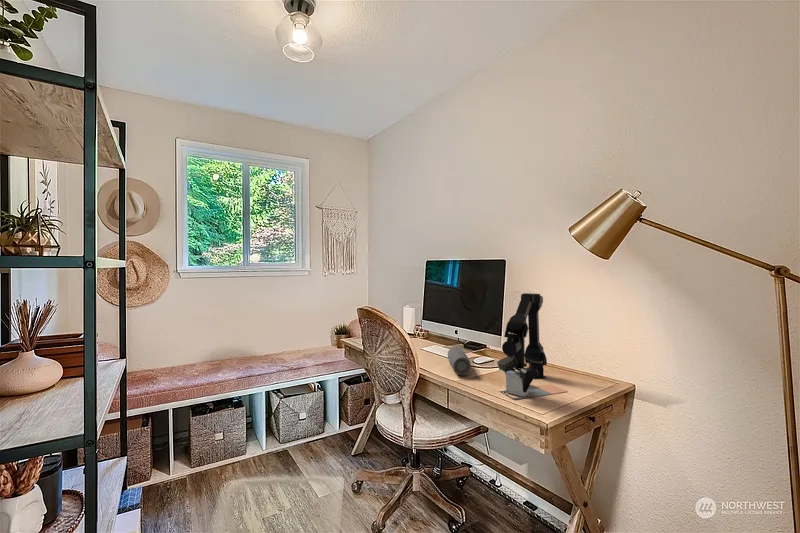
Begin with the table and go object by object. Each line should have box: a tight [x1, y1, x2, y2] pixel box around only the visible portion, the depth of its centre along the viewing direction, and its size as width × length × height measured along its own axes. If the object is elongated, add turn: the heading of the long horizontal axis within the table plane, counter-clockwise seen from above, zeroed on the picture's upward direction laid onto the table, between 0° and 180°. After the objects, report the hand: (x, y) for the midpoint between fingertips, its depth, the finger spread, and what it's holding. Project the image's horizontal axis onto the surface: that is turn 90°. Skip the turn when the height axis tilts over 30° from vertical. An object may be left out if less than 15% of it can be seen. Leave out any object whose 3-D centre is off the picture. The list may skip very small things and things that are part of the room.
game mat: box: [499, 383, 569, 401], centre depth 159 cm, size 10×27×1 cm, turn 110°
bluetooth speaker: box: [447, 346, 472, 376], centre depth 190 cm, size 23×9×10 cm, turn 0°
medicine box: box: [505, 370, 529, 397], centre depth 156 cm, size 8×4×9 cm, turn 48°
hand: (517, 388), depth 156 cm, fingers open, 9 cm apart
